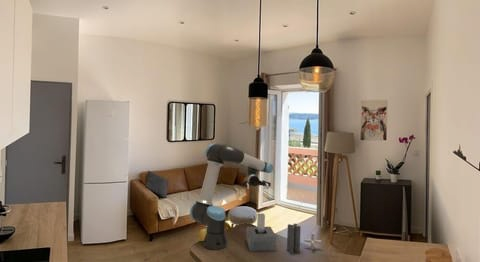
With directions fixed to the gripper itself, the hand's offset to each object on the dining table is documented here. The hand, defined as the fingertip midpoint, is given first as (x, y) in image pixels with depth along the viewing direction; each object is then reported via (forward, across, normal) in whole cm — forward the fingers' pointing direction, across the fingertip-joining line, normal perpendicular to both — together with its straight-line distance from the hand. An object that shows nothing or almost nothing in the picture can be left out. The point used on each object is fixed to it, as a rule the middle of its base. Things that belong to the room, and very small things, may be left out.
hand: (258, 187), depth 201 cm
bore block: (+15, 0, -34) cm, 37 cm away
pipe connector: (+22, -32, -34) cm, 51 cm away
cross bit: (+24, -19, -34) cm, 46 cm away
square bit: (+15, 0, -34) cm, 37 cm away
